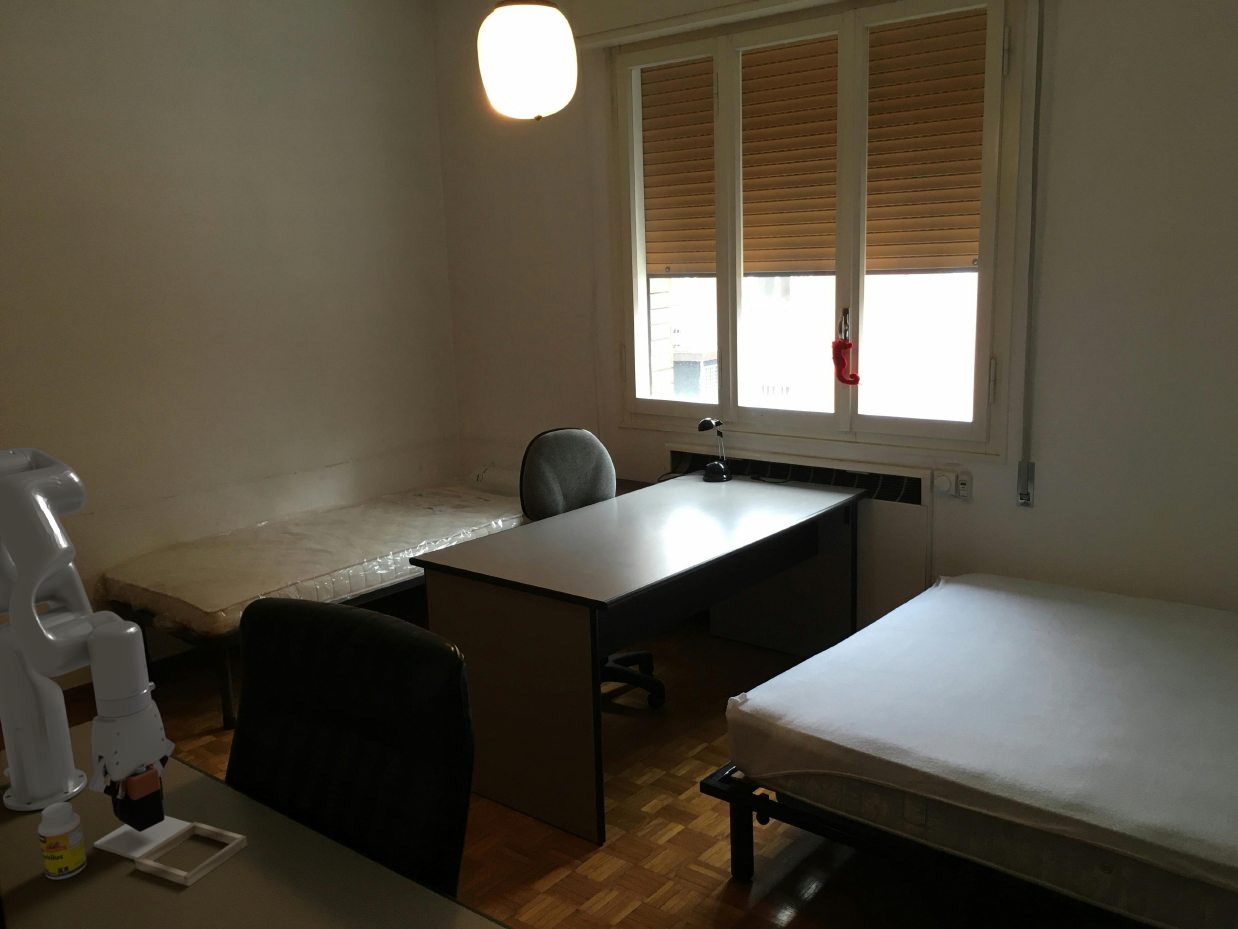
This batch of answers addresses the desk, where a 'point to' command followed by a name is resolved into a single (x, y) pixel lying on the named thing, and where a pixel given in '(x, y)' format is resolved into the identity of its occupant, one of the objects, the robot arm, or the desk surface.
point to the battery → (144, 798)
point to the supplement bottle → (61, 841)
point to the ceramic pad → (140, 838)
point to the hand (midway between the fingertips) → (139, 807)
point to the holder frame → (188, 879)
